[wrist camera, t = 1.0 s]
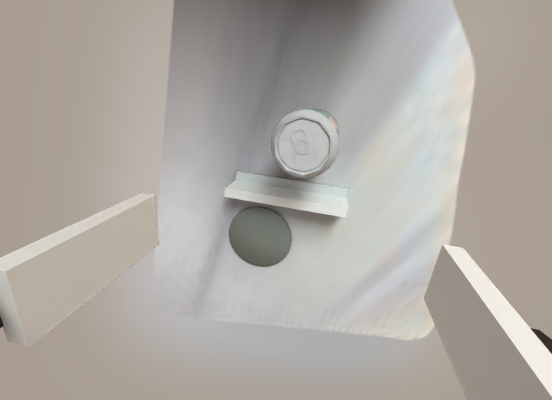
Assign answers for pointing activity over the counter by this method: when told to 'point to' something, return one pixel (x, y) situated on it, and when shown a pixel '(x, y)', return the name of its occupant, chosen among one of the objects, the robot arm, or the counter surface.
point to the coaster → (260, 236)
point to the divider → (289, 193)
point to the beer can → (305, 142)
